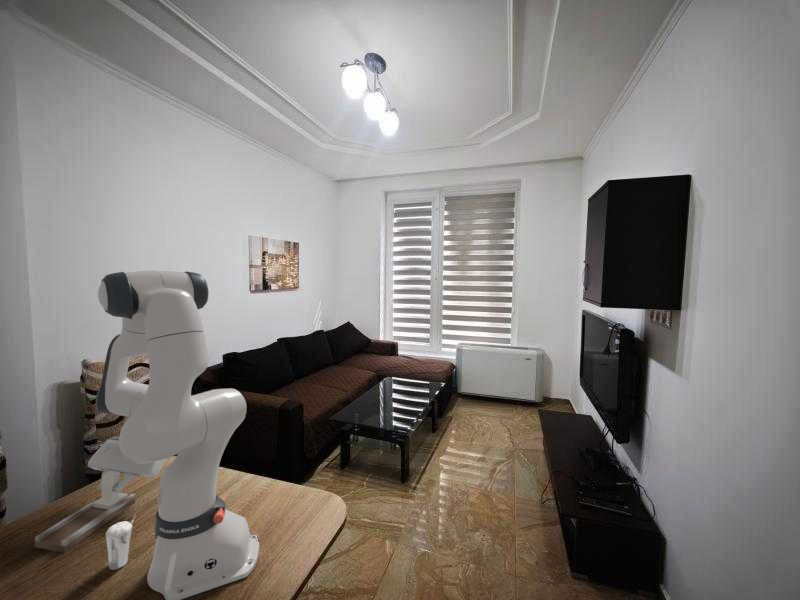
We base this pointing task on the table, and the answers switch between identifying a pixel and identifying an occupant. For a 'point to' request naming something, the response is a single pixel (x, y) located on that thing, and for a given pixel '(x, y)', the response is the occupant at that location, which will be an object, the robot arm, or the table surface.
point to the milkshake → (118, 543)
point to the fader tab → (109, 491)
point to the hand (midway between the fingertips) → (108, 490)
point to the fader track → (79, 525)
